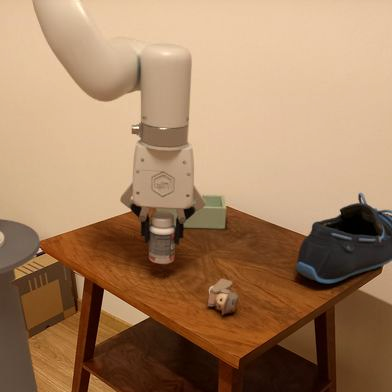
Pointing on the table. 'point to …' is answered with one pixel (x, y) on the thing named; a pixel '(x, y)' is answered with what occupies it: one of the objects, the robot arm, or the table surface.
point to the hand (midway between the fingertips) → (162, 239)
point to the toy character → (223, 296)
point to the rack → (205, 213)
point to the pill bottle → (162, 237)
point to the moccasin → (347, 244)
